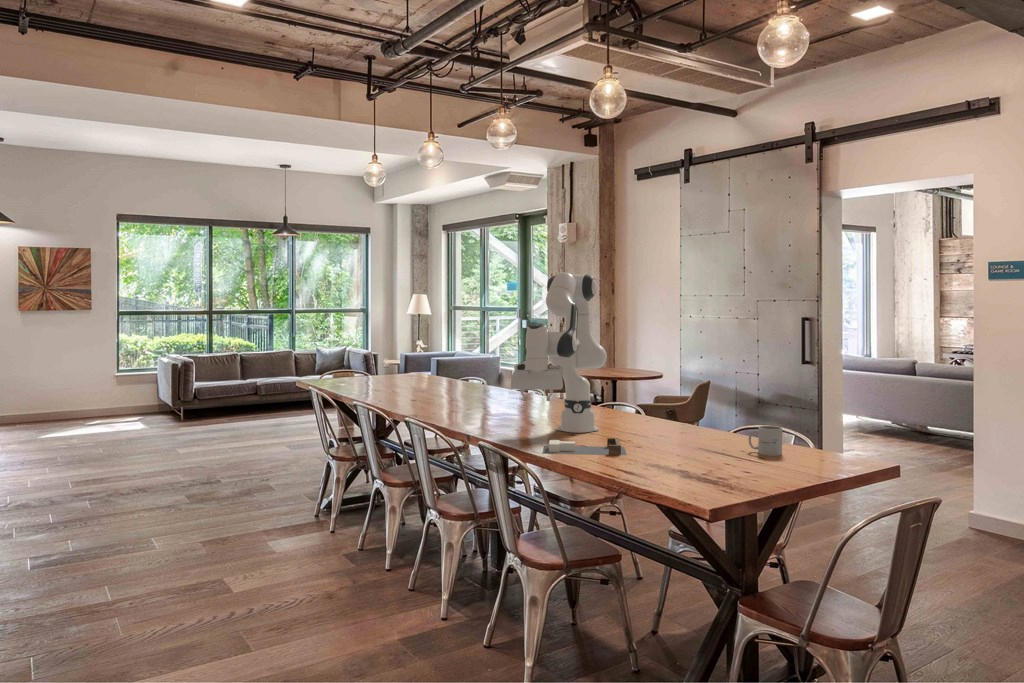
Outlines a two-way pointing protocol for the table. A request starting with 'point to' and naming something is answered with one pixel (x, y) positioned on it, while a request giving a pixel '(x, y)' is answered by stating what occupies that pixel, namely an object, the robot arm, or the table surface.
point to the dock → (614, 446)
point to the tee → (561, 446)
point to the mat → (585, 450)
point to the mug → (768, 440)
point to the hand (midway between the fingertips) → (536, 400)
